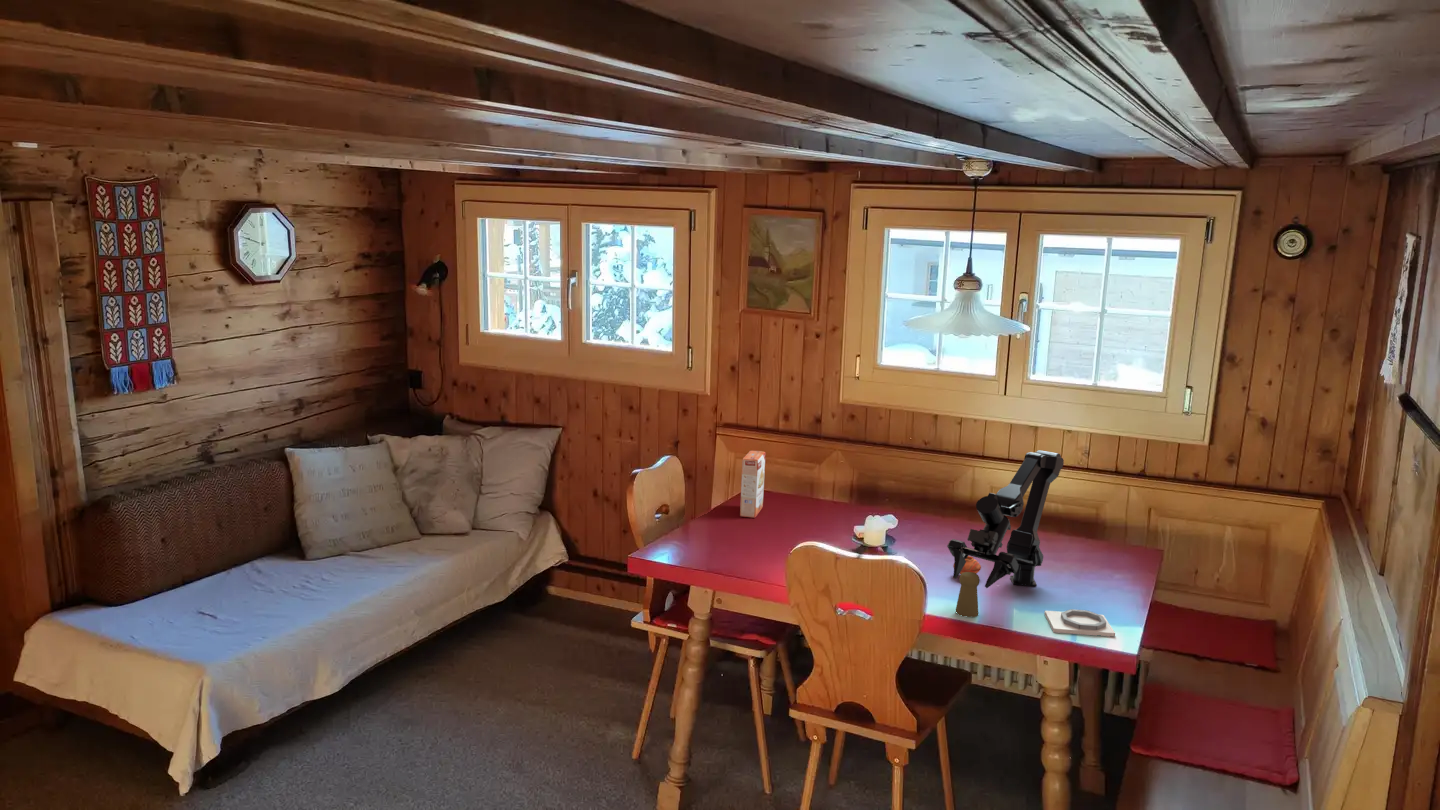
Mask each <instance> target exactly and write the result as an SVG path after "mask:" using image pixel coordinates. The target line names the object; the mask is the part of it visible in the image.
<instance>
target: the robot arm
mask: <svg viewBox="0 0 1440 810" xmlns="http://www.w3.org/2000/svg"><path fill="white" fill-rule="evenodd" d="M1023 459H1024V460H1023V462H1022V463H1021V465H1020V466H1019V467H1018V469H1017V471H1016V473H1015V474H1014V476H1013V477H1012V478H1011V480H1010V482H1009V483H1008V485H1006V486H1004V487H1002V488H1000V489H999V490H998V491H997V492H996V493H993V492H989V493H988V494H987V495H986V496H982V497H980V498H979V499H978V500H977V501H976V504H975V508H976V511H977V512H978V515H979V516H980V518H981V520H982V522H984V526H983V529H980V530H977V529H972V528H970V530H969V533H968V537H967V541H968V542H971V543H970V544H971V546H972V547H973V548H970V547H968V546H967V544H966V542H965V541H962V540H958V539H955V538H952V539H950V540H949V542H948V543H947V545H946V546H947V549H948V550H949V552H950V554H951V556H952V557H953V558H954V563H953V565H954V567H953V579H955V580H956V579H957V578H958V577H959V576H960V575H961V574H960V572H961V570H962V568H963V567H964V565H965V563H966V560H965V559H966V558H967V557H968V556H970V557H973V558H978V559H982V560H986V561H988V562H989V561H990V562H992V563H993V567H992V570H991V572H990V573H989V574H988V575H989V576H988V577H987V579H986V582H985V583H984V587H985V588H986V589H988V588H989V587H991V586H992V585H993V584H995V583H996V582H997V581H999V580H1000V579H1002V578H1004V577H1005V576H1008V575H1009V578H1010V580H1011V582H1012V585H1017V586H1027V587H1028V586H1031V587H1037V586H1038V585H1037V582H1036V580H1035V570H1036V567H1041V566H1042V564H1043V562H1044V554H1043V552H1042V550H1041V549H1040V545H1041V540H1040V537H1039V534H1038V529H1039V526H1040V521H1041V518H1042V515H1043V511H1044V507H1045V504H1046V501H1047V500H1046V499H1047V496H1048V492H1049V489H1050V485H1051V484H1052V483H1053V482H1054V480H1056V479H1057V478H1058V477H1059V475H1060V473H1061V470H1063V467H1064V464H1065V463H1064V458H1063V457H1062V455H1061V453H1058V452H1052V451H1046V450H1042V449H1038V450H1037V451H1035V452H1033V451H1030V452H1026V454H1025V455H1024V458H1023ZM1029 489H1030V490H1029ZM1028 490H1029V493H1028V498H1027V500H1026V504H1025V503H1024V496H1025V494H1026V493H1027V491H1028ZM1024 505H1025V507H1024ZM1023 509H1024V512H1023V515H1022V519H1021V521H1020V525H1019V527H1017V528H1016V529H1012V525H1011V522H1010V519H1009V518H1008V517H1012V518H1017V517H1018V516H1019V515H1020V514H1021V513H1022V511H1023ZM1011 530H1012V531H1011ZM1007 531H1011V532H1010V538H1009V540H1008V541H1007V544H1006V551H1000V552H999V553H998V554H997V552H998V550H999V548H1001V549H1002V547H1003V543H1002V542H1003V540H1004V537H1005V535H1006V534H1007ZM1011 574H1012V575H1011Z"/></svg>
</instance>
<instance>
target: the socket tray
mask: <svg viewBox="0 0 1440 810" xmlns="http://www.w3.org/2000/svg"><path fill="white" fill-rule="evenodd" d="M1044 616H1045V618H1046V620H1047V622H1048V624H1049V626H1050V628H1051V630H1052V631H1053V633H1059V634H1074V635H1086V636H1097V635H1101V637H1110V636H1115V637H1116V632H1115V631H1114V629H1113V627H1112V626H1111V624H1110V622H1109V621H1108V620H1107V618H1106V616H1105V615H1104V614H1098V613H1096V612H1093V611H1090V610H1084V609H1067V610H1065V611H1058V610H1057V611H1056V610H1044Z"/></svg>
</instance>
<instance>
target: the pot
mask: <svg viewBox="0 0 1440 810" xmlns="http://www.w3.org/2000/svg"><path fill="white" fill-rule="evenodd" d="M965 560H966V563H965V565H964V567H963V568H962V570H961V572H960V574H959V575H961V574H962V573H964V572H973V573H976V574H977V575H978V573H979V572H980V571H981V569H982V565H981V564H980V562H979V561H978V560H977V559H976V558H975V557H973V556H970V555H968V557H967V558H966V559H965ZM952 567H953V568H954V564H952Z"/></svg>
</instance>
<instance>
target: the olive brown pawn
mask: <svg viewBox="0 0 1440 810" xmlns="http://www.w3.org/2000/svg"><path fill="white" fill-rule="evenodd" d="M958 579H959V584H960V588H959V593H958V598H957V602H956V607H955V610H956V612H957V613H958V614H959V615H958V614H957V613H956V612H955V613H956V614H957V615H958V616H960V615H962V616H961V617H964V616H967V617H966V618H977V617H978V616H979V615H978V614H979V601H978V600H979V599H978V598H979V596H978V586H979V584H980V581H981V580H980V576H979V575H978V573H977V574H976V573H973V572H964V573H962V574H959V578H958Z"/></svg>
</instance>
